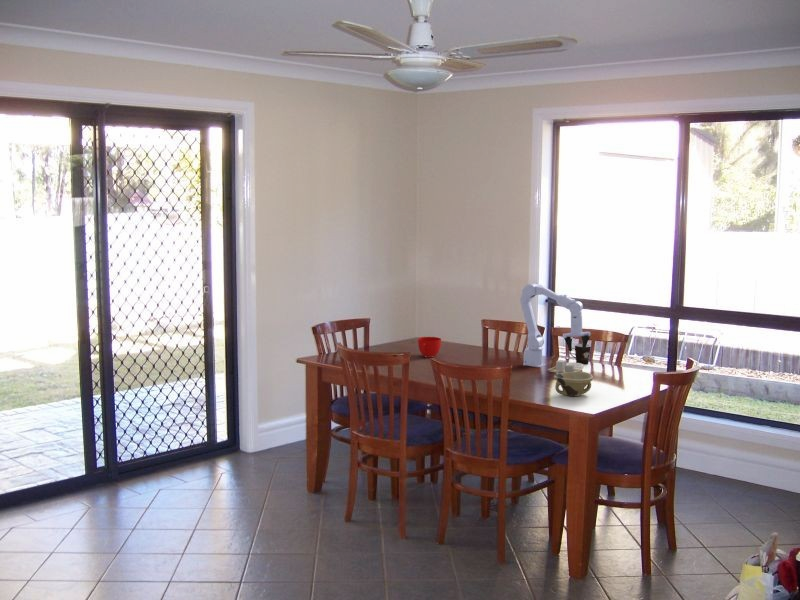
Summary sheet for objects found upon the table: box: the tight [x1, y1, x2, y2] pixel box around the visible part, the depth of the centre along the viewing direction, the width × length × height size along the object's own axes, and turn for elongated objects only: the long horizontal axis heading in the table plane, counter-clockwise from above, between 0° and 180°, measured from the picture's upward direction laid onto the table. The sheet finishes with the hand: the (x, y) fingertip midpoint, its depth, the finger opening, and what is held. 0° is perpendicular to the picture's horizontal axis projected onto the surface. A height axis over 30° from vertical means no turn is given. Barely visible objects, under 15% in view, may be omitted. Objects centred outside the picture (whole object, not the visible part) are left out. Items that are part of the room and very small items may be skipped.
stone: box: [565, 365, 574, 372], centre depth 410 cm, size 4×3×4 cm
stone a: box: [555, 359, 567, 371], centre depth 417 cm, size 4×4×5 cm
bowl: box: [553, 371, 594, 397], centre depth 369 cm, size 18×18×10 cm
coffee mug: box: [569, 343, 592, 366], centre depth 435 cm, size 12×9×10 cm
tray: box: [547, 365, 583, 374], centre depth 414 cm, size 14×11×2 cm
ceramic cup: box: [417, 336, 442, 358], centre depth 449 cm, size 13×17×10 cm
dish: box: [566, 362, 585, 370], centre depth 423 cm, size 9×9×2 cm
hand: (577, 350), depth 418 cm, fingers open, 7 cm apart
